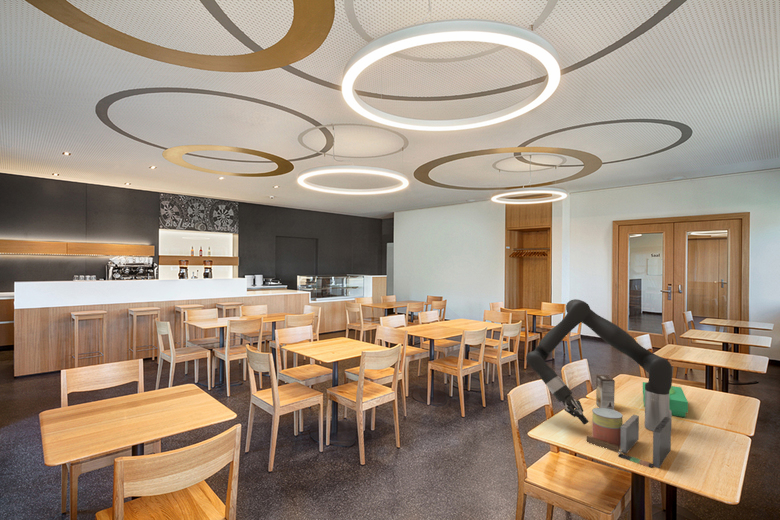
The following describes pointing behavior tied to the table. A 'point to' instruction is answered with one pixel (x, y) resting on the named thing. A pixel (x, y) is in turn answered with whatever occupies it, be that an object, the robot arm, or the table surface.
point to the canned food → (607, 425)
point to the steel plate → (629, 434)
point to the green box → (674, 401)
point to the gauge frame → (659, 445)
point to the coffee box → (605, 391)
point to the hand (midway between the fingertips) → (586, 423)
